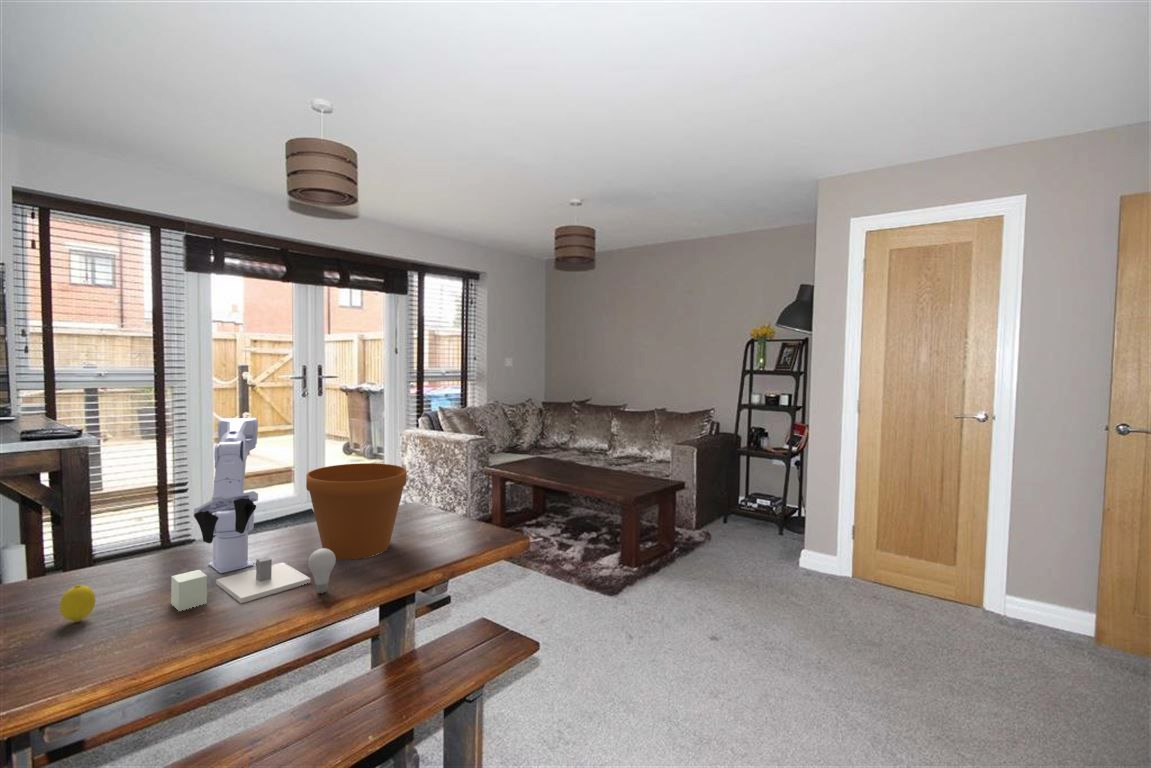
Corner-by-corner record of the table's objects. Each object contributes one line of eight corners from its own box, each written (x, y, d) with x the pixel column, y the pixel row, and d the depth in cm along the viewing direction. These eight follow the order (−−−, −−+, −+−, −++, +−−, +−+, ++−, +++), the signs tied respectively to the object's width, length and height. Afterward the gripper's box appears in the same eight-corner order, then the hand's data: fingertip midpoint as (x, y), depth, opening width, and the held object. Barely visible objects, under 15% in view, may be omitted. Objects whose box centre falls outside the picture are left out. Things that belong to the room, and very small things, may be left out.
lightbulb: (340, 591, 133) (341, 547, 133) (317, 600, 128) (318, 555, 128) (325, 586, 136) (325, 543, 136) (302, 594, 131) (302, 549, 131)
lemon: (59, 621, 115) (59, 584, 114) (94, 613, 119) (94, 577, 118) (60, 631, 111) (60, 592, 110) (96, 622, 115) (96, 585, 114)
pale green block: (171, 604, 124) (171, 576, 124) (198, 597, 128) (198, 569, 128) (178, 611, 121) (178, 582, 120) (206, 603, 125) (206, 575, 125)
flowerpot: (344, 573, 145) (346, 486, 144) (285, 552, 159) (286, 473, 158) (424, 545, 168) (426, 470, 168) (366, 528, 183) (367, 460, 182)
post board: (216, 584, 136) (216, 559, 135) (282, 566, 148) (283, 544, 148) (241, 603, 126) (241, 577, 125) (310, 582, 138) (310, 559, 138)
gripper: (187, 487, 130) (180, 541, 123) (246, 469, 131) (243, 522, 124) (207, 497, 136) (202, 549, 129) (263, 480, 137) (262, 531, 130)
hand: (223, 537), depth 127 cm, fingers open, 7 cm apart
